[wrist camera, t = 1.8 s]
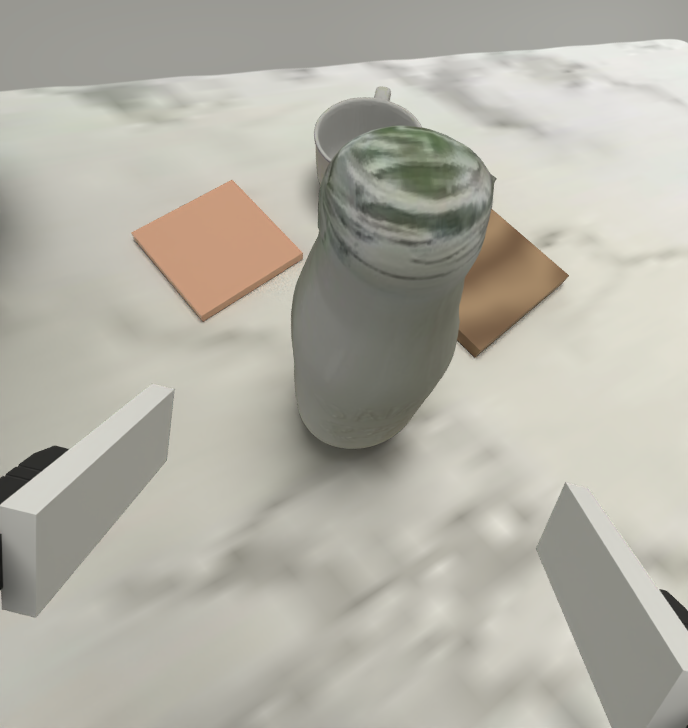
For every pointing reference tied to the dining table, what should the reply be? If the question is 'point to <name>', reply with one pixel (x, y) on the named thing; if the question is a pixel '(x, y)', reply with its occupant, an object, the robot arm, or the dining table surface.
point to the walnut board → (503, 285)
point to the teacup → (355, 123)
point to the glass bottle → (385, 281)
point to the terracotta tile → (217, 248)
